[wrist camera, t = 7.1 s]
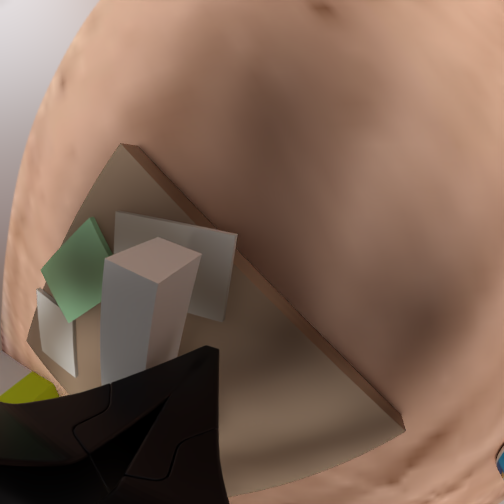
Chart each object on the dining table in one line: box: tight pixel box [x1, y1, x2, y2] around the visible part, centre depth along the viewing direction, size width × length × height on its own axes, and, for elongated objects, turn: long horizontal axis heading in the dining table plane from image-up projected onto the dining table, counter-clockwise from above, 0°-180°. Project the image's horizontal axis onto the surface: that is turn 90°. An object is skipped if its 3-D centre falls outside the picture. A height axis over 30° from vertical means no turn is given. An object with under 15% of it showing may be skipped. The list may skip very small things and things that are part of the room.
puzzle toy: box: [0, 351, 59, 404], centre depth 14 cm, size 10×10×10 cm
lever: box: [100, 237, 202, 386], centre depth 8 cm, size 11×4×5 cm, turn 162°
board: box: [27, 143, 406, 497], centre depth 12 cm, size 18×17×2 cm
